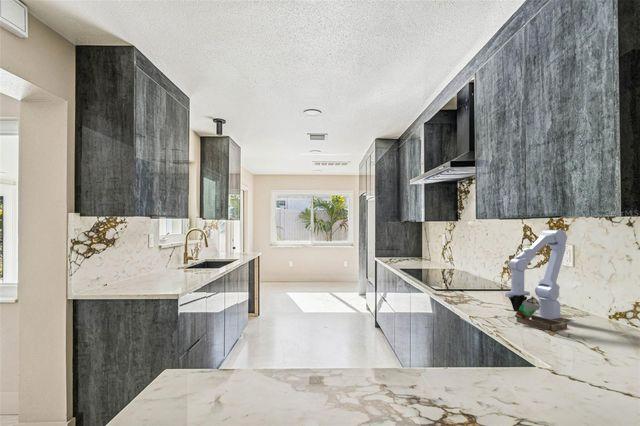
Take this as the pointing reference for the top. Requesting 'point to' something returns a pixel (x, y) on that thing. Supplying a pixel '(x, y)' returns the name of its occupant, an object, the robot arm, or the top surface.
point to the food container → (528, 308)
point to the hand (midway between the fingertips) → (517, 310)
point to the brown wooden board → (554, 326)
